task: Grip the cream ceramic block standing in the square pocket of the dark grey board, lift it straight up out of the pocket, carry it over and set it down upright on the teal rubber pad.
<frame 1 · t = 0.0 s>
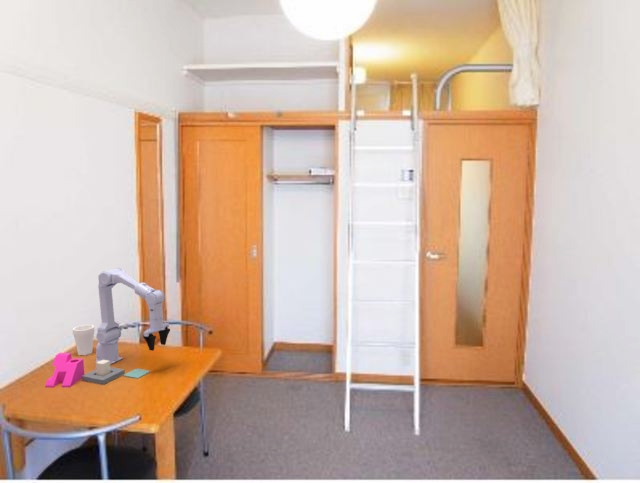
hand: (157, 347, 215), 10 cm above the table, tool pointing down, fingers open, 7 cm apart
block: (103, 369, 206), in the pocket board
bracket: (65, 381, 203), on the table
pad: (137, 373, 210), on the table
pocket board: (103, 377, 207), on the table
foam cup: (85, 353, 236), on the table
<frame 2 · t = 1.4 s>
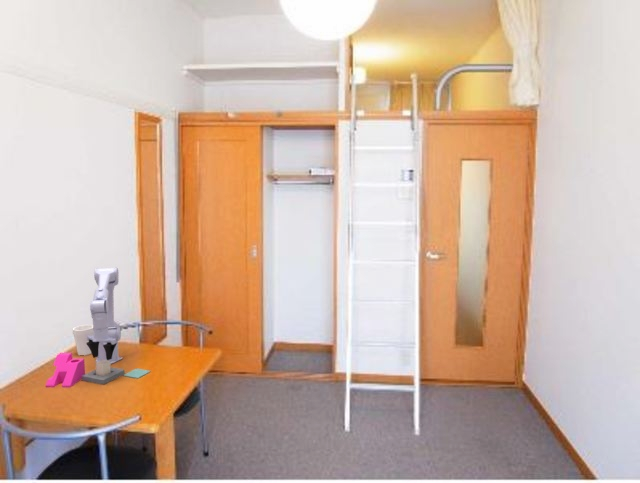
hand: (102, 358, 206), 9 cm above the table, tool pointing down, fingers open, 7 cm apart
nothing on the table moved.
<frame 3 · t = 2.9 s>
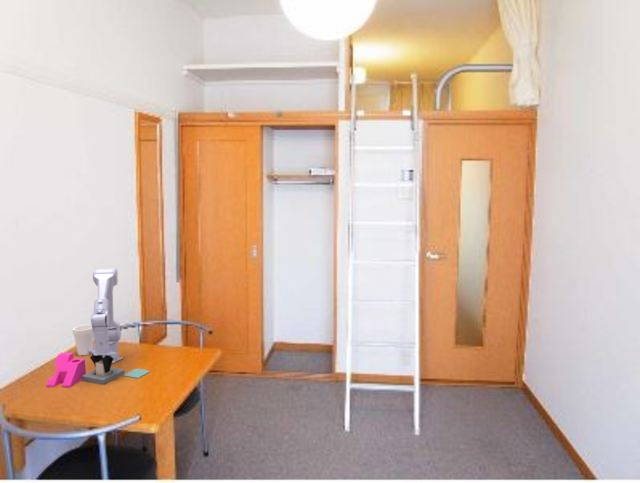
hand: (103, 371, 207), 3 cm above the table, tool pointing down, fingers closed on block, 4 cm apart
block: (103, 369, 206), in the pocket board, touching gripper
everything else where it was.
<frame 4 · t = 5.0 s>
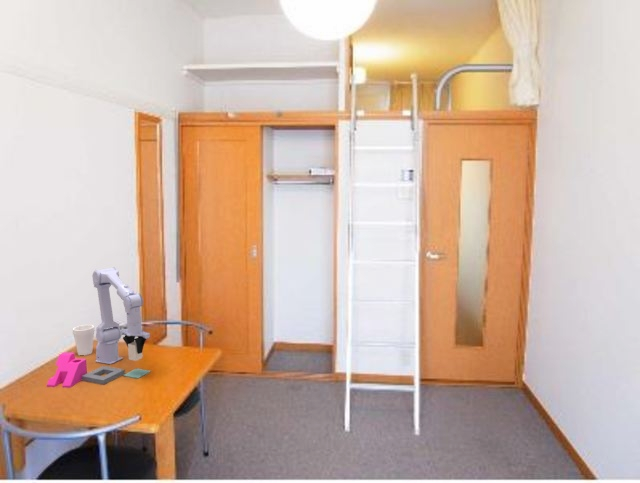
hand: (135, 352, 209), 10 cm above the table, tool pointing down, fingers closed on block, 4 cm apart
block: (135, 350, 209), point 11 cm above the table, touching gripper
everything else where it was.
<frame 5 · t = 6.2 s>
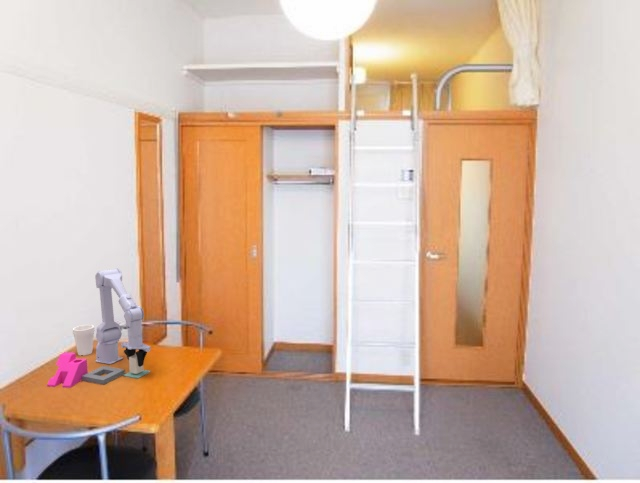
hand: (136, 365, 210), 4 cm above the table, tool pointing down, fingers closed on block, 4 cm apart
block: (136, 363, 210), point 5 cm above the table, touching gripper
when the fingers open (4 cm above the table, at t = 6.9 s): block stays where it is, resting on pad.
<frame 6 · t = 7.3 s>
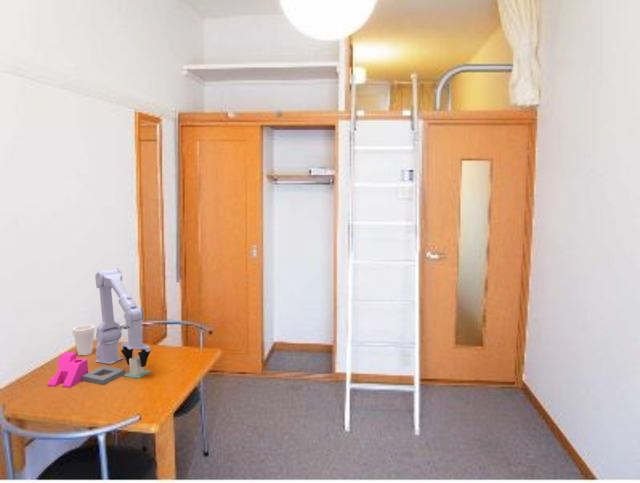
hand: (136, 365, 210), 4 cm above the table, tool pointing down, fingers open, 7 cm apart
block: (136, 365, 210), on the pad
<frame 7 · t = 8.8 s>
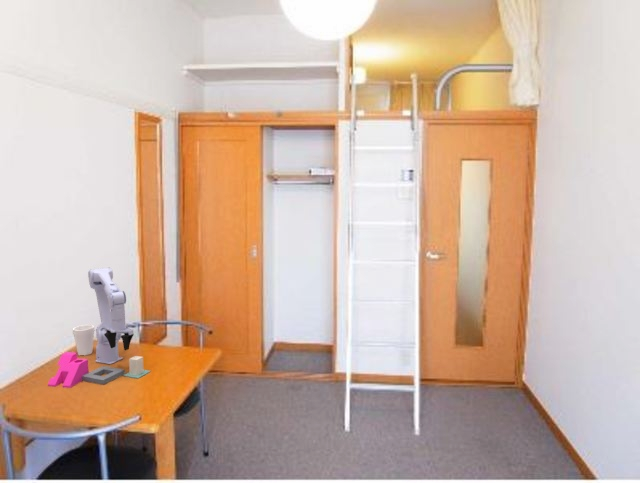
hand: (119, 348, 212), 10 cm above the table, tool pointing down, fingers open, 7 cm apart
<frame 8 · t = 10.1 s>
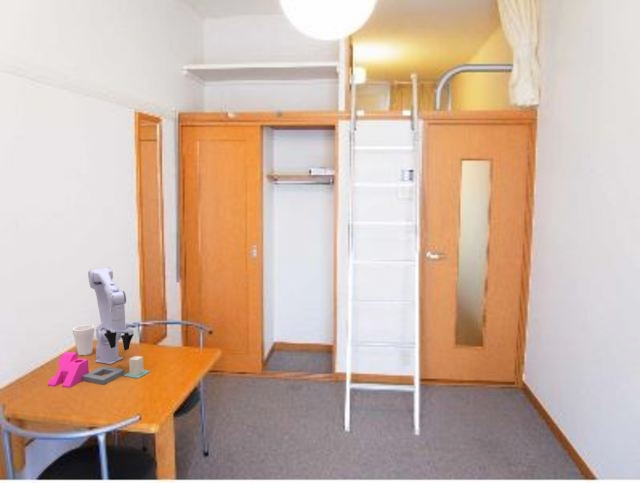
hand: (119, 348, 212), 10 cm above the table, tool pointing down, fingers open, 7 cm apart
at the end: block inside the target area on the pad (0.2 cm from its centre), point 3.9 cm above the pad's base; block tilted 0°; block touching pad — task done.
